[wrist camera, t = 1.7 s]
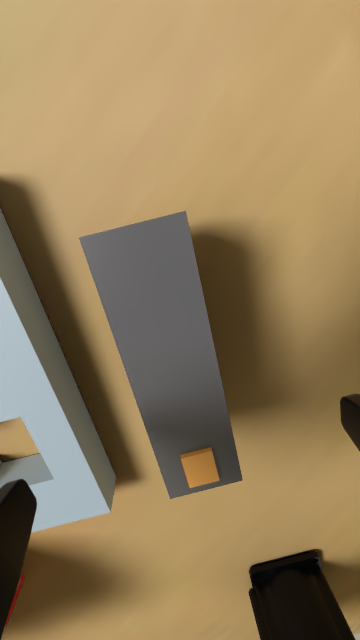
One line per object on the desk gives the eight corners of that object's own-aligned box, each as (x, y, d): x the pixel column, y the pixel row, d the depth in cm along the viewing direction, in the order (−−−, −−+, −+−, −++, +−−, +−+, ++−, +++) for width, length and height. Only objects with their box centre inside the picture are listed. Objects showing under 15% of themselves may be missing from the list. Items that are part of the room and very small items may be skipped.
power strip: (109, 236, 14) (77, 237, 8) (174, 220, 14) (186, 210, 8) (166, 417, 18) (170, 502, 12) (216, 404, 18) (244, 484, 12)
